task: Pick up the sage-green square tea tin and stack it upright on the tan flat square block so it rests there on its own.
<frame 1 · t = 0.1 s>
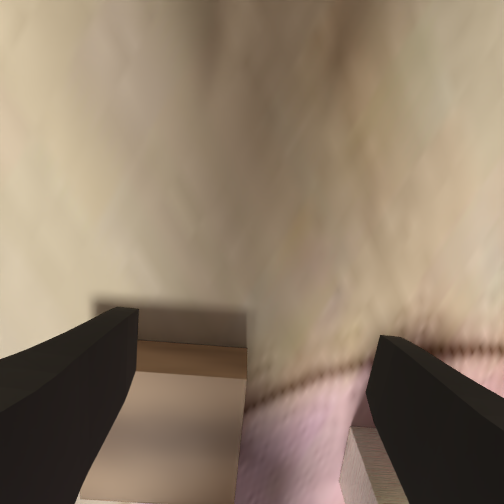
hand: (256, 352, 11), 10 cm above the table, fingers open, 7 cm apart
tea tin: (378, 456, 25), on the table
tan flat square block: (169, 405, 24), on the table
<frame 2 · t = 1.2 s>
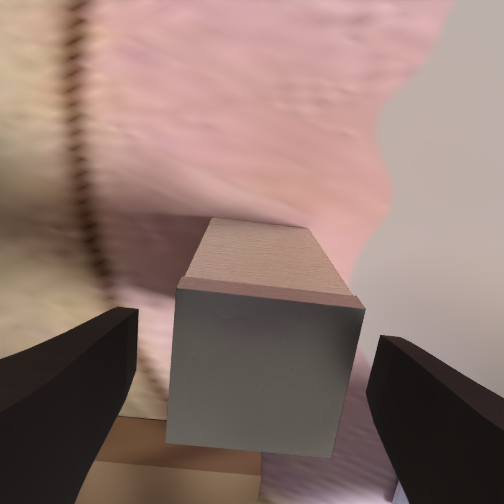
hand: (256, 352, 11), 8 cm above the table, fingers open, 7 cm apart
tea tin: (254, 268, 18), on the table
tan flat square block: (174, 484, 22), on the table
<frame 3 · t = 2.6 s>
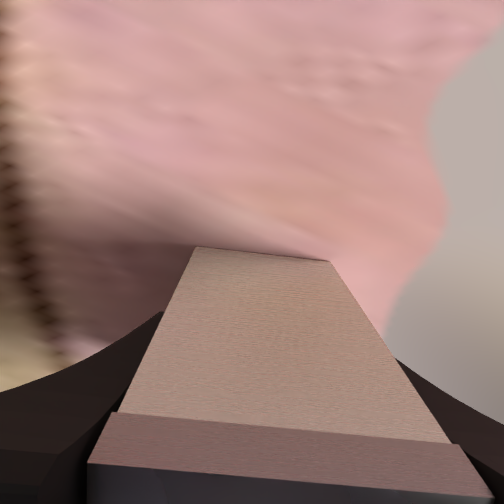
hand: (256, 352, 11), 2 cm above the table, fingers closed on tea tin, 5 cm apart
tea tin: (255, 314, 13), on the table, touching gripper
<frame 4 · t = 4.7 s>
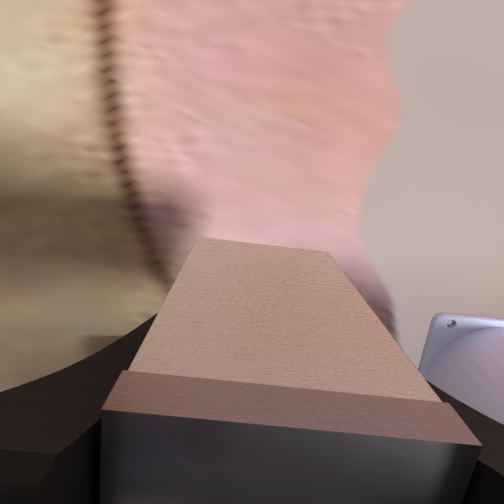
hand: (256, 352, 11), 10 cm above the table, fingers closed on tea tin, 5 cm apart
tea tin: (255, 305, 14), point 7 cm above the table, touching gripper
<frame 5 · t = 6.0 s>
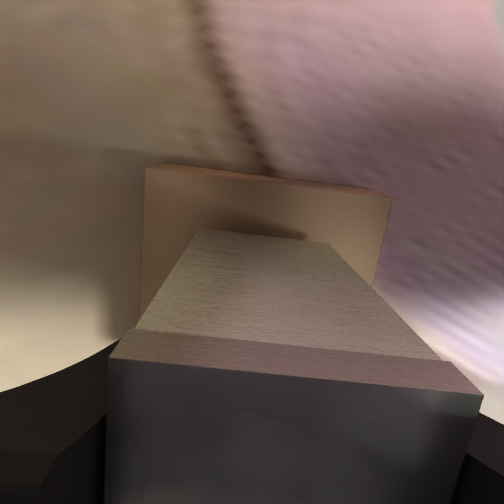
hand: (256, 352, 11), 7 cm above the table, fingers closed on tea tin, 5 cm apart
tea tin: (256, 296, 14), point 4 cm above the table, touching gripper
tan flat square block: (253, 271, 18), on the table
when the fingers open (6 cm above the table, at t = 7.0 s): tea tin stays where it is, resting on tan flat square block.
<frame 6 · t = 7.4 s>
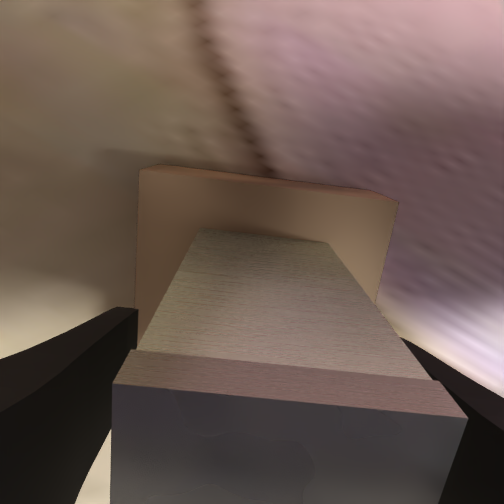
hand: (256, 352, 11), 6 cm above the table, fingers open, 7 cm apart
tea tin: (256, 294, 14), point 3 cm above the table, touching tan flat square block
tan flat square block: (253, 277, 17), on the table
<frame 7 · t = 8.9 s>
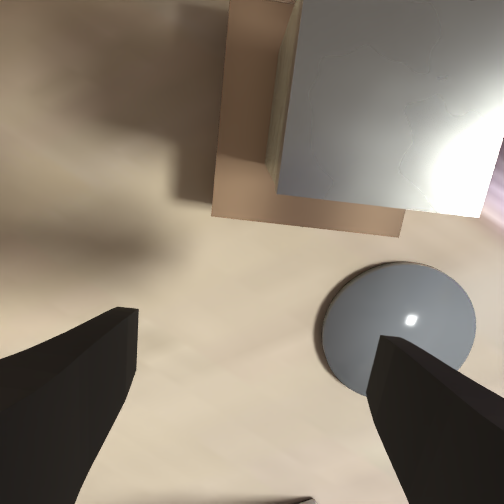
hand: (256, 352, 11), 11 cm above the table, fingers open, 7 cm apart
tea tin: (323, 116, 16), point 3 cm above the table, touching tan flat square block
slate coaster: (395, 331, 23), on the table
tan flat square block: (311, 128, 19), on the table
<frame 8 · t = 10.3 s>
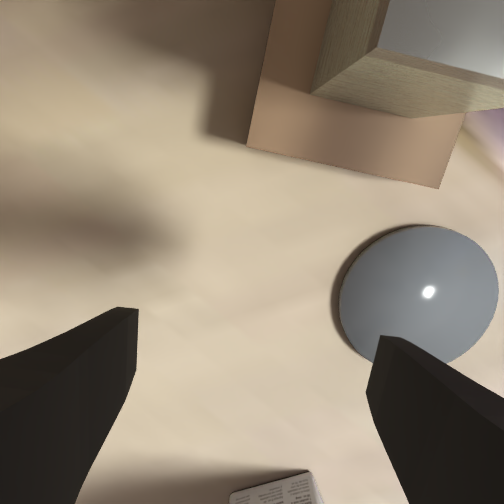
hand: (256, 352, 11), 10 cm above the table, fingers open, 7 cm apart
tea tin: (377, 48, 15), point 3 cm above the table, touching tan flat square block
slate coaster: (414, 299, 22), on the table
tan flat square block: (354, 72, 18), on the table
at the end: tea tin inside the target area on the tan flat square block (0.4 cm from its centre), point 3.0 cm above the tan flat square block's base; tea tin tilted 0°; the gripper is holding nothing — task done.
